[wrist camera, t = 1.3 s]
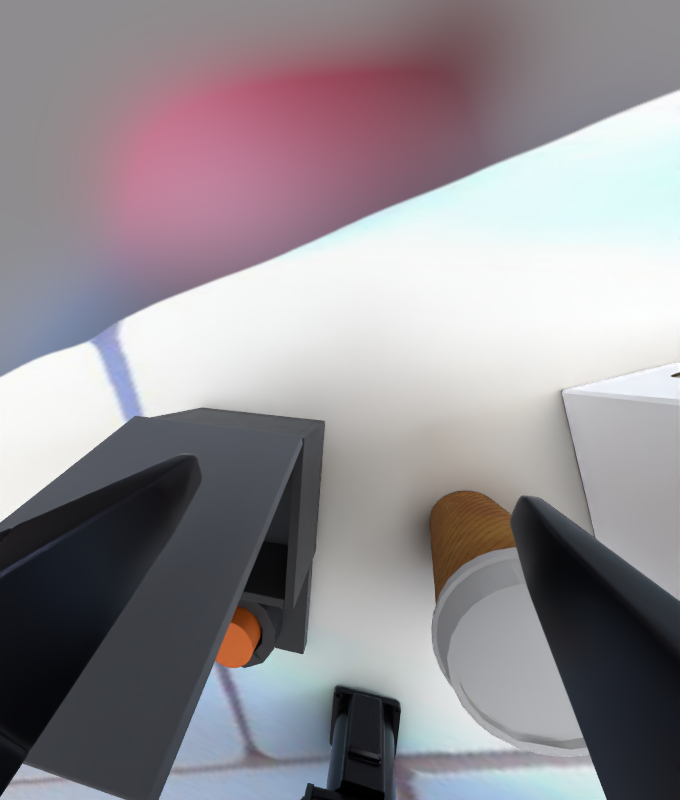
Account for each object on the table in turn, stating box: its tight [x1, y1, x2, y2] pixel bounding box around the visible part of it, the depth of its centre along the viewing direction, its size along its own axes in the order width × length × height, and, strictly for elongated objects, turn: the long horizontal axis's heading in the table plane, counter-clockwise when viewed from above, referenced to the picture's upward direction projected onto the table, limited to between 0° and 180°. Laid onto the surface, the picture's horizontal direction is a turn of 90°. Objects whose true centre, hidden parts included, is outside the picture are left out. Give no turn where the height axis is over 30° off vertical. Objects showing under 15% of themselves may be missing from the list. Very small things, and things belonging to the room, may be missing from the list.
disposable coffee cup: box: [430, 491, 589, 757], centre depth 18 cm, size 10×10×12 cm
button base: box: [237, 561, 312, 668], centre depth 27 cm, size 10×12×3 cm
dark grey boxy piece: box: [151, 408, 325, 610], centre depth 23 cm, size 13×12×7 cm
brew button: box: [215, 606, 261, 668], centre depth 25 cm, size 4×4×2 cm
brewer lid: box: [0, 416, 303, 800], centre depth 13 cm, size 14×12×1 cm
